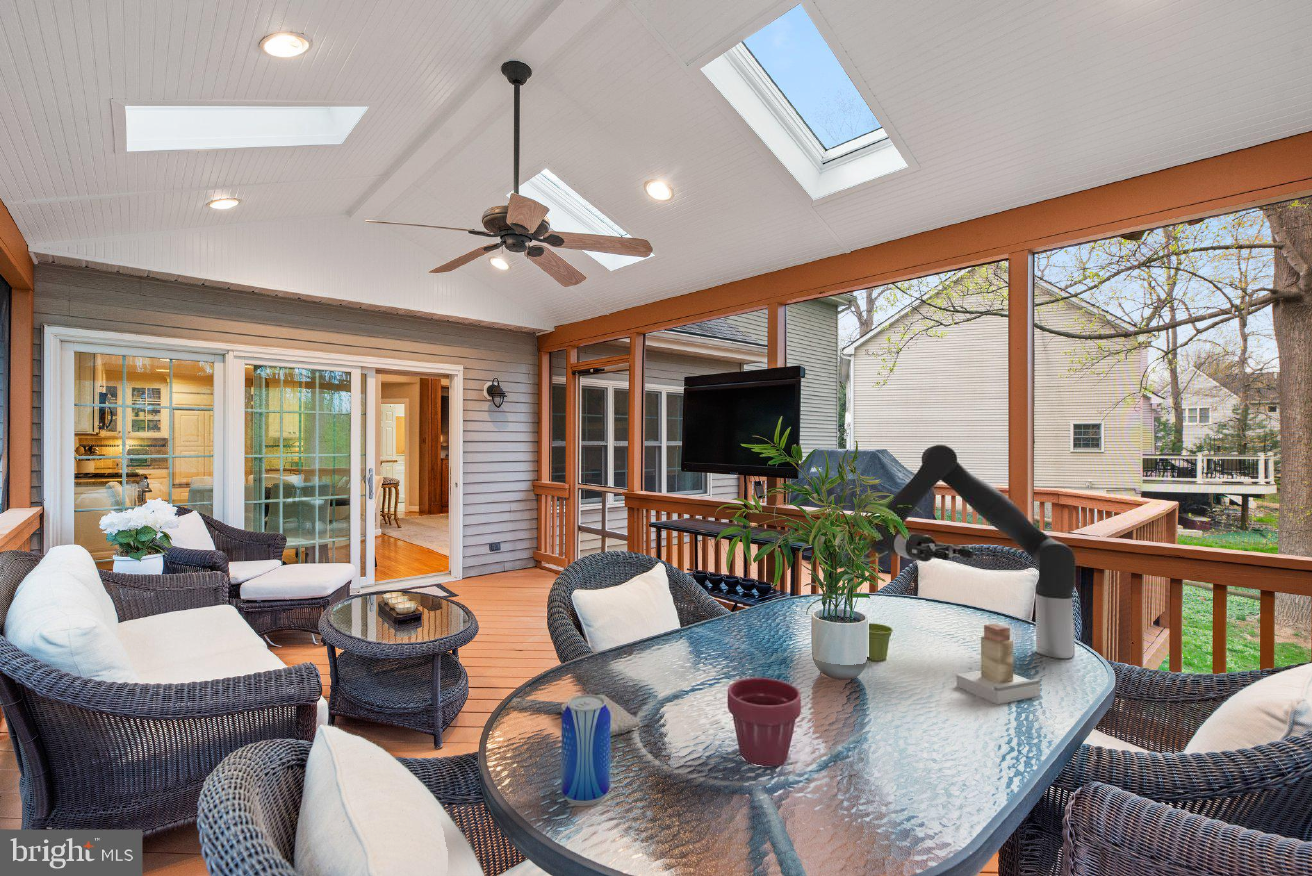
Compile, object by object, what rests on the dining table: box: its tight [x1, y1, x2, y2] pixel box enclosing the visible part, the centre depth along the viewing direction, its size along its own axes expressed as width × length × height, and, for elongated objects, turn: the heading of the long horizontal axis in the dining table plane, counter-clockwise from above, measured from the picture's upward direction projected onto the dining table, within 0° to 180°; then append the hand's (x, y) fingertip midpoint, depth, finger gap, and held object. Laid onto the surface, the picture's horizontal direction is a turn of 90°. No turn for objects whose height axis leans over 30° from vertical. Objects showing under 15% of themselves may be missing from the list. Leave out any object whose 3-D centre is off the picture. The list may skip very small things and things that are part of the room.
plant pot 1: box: [727, 677, 802, 767], centre depth 122 cm, size 14×14×13 cm
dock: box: [955, 669, 1041, 705], centre depth 156 cm, size 14×12×4 cm
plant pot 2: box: [868, 622, 894, 662], centre depth 181 cm, size 9×9×9 cm
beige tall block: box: [980, 623, 1014, 684], centre depth 156 cm, size 5×5×13 cm
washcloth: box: [559, 694, 641, 735], centre depth 138 cm, size 12×18×3 cm, turn 34°
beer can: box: [560, 694, 611, 807], centre depth 108 cm, size 8×8×16 cm
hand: (960, 555), depth 167 cm, fingers open, 8 cm apart
